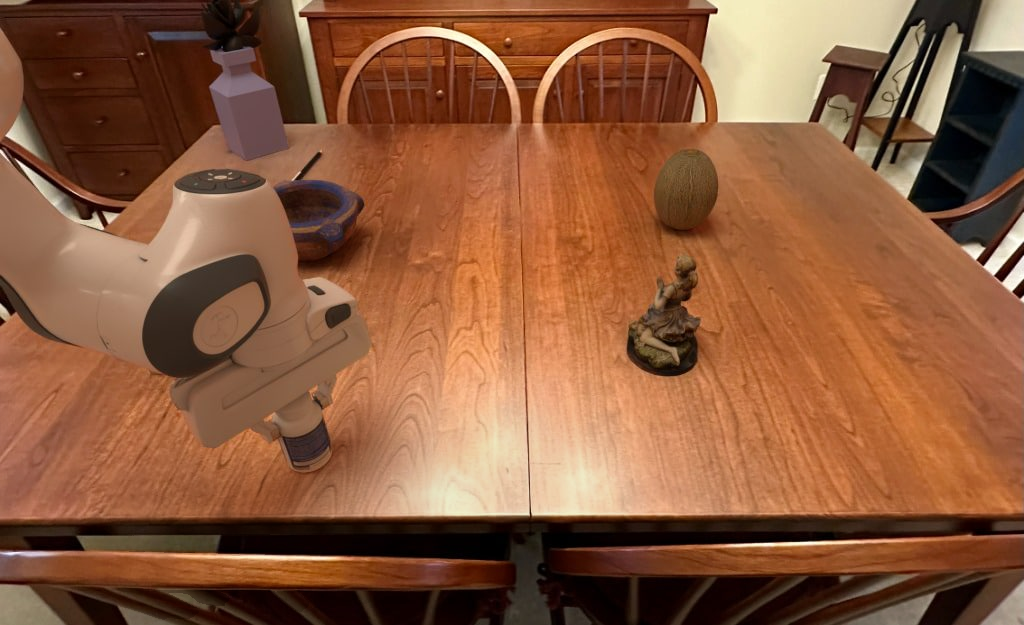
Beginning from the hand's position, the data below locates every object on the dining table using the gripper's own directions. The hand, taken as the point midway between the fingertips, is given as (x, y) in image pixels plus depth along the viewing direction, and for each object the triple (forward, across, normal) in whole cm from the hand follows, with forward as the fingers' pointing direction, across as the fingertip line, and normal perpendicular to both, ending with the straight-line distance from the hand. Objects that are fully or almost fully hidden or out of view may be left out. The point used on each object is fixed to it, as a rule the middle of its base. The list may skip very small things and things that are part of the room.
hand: (299, 420), depth 68 cm
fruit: (+6, +78, -5) cm, 78 cm away
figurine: (+6, +45, -21) cm, 50 cm away
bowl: (+6, +27, +40) cm, 49 cm away
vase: (+6, +44, +90) cm, 100 cm away
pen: (+6, +45, +70) cm, 83 cm away
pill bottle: (+6, 0, 0) cm, 6 cm away
